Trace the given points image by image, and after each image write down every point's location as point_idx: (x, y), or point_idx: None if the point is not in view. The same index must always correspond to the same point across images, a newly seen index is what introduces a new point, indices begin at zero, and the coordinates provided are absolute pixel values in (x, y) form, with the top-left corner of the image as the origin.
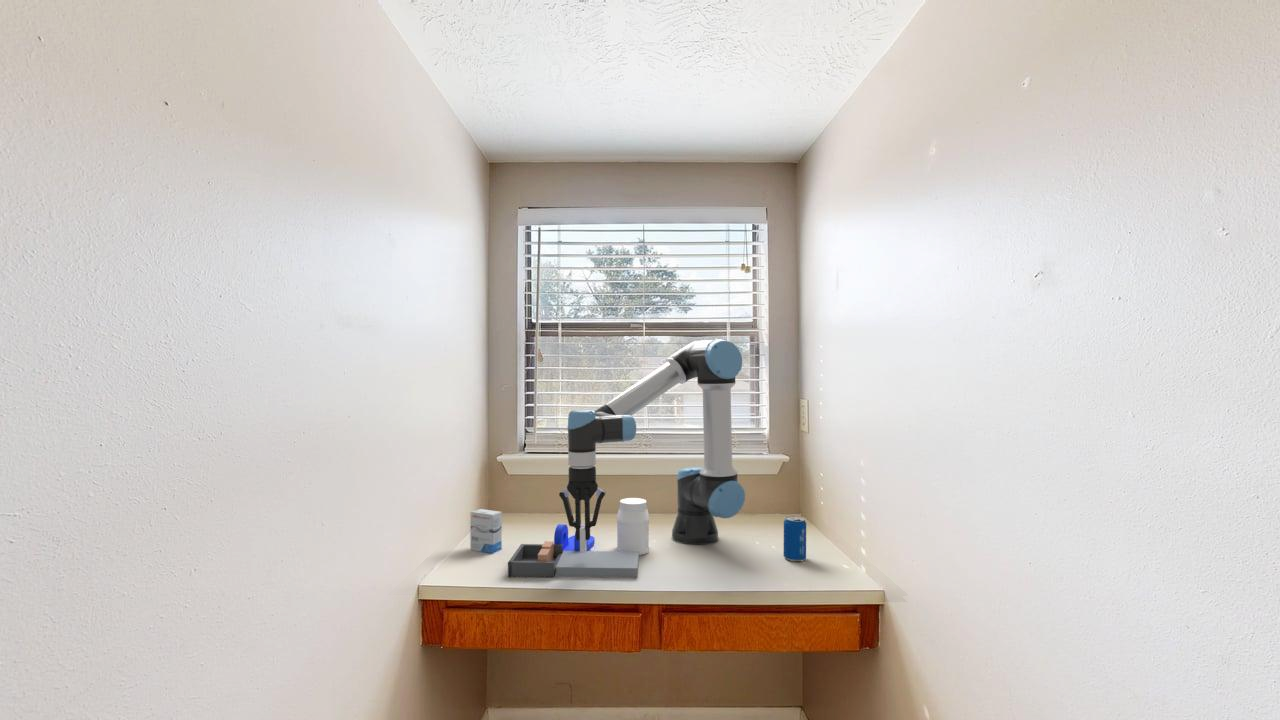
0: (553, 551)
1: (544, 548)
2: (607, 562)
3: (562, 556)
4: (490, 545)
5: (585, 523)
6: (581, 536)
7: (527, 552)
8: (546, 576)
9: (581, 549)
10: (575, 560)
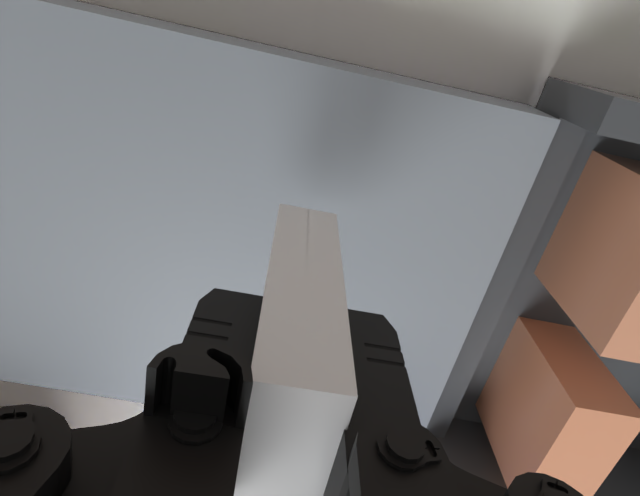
0: (489, 441)
1: (617, 403)
2: (89, 162)
3: (447, 351)
4: None
5: (220, 491)
6: (322, 309)
7: (637, 470)
8: (610, 91)
9: (321, 224)
10: (362, 256)
